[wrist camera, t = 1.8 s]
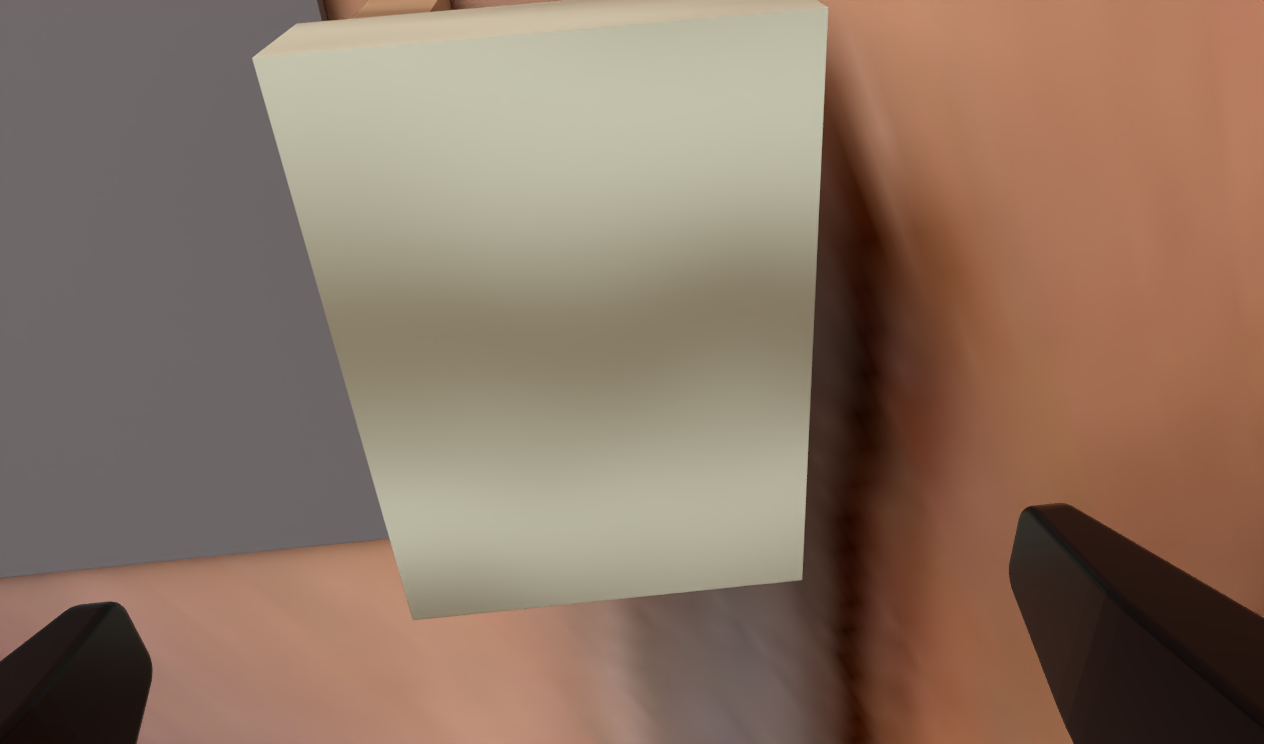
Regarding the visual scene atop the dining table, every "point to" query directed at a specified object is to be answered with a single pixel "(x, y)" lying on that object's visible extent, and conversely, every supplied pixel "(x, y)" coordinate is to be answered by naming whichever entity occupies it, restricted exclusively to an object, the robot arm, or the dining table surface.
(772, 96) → the stool
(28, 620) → the dining table surface
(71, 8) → the felt pad
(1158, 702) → the robot arm
